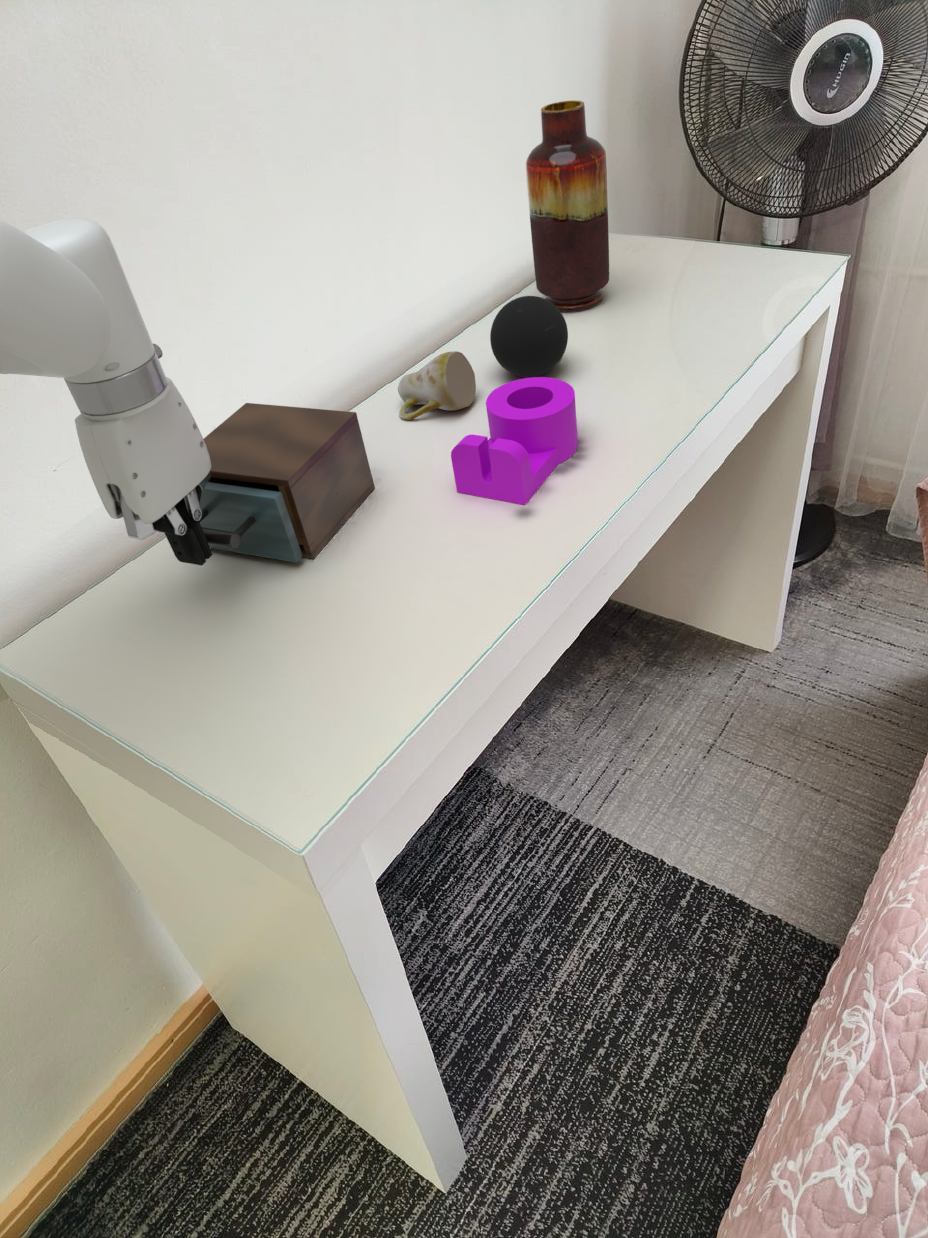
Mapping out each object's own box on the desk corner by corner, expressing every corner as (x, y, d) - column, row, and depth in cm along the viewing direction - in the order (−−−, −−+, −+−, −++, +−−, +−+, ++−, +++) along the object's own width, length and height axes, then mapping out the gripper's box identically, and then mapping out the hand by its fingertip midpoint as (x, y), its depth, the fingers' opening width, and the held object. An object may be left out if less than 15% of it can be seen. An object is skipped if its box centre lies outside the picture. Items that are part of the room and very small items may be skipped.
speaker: (504, 357, 118) (496, 284, 111) (576, 355, 115) (571, 281, 108) (486, 391, 111) (476, 316, 104) (562, 390, 108) (556, 313, 101)
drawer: (273, 589, 83) (248, 524, 78) (168, 570, 88) (138, 507, 83) (356, 495, 94) (339, 432, 89) (258, 482, 99) (237, 422, 94)
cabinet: (313, 559, 88) (287, 480, 81) (202, 540, 93) (170, 465, 87) (375, 488, 96) (356, 411, 90) (270, 475, 102) (246, 402, 96)
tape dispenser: (516, 421, 103) (510, 373, 99) (591, 431, 99) (588, 381, 95) (451, 490, 94) (442, 440, 90) (531, 506, 89) (525, 454, 85)
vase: (542, 288, 134) (527, 101, 117) (612, 284, 132) (607, 91, 115) (532, 317, 127) (514, 120, 110) (607, 313, 124) (601, 110, 107)
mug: (409, 391, 114) (436, 325, 108) (466, 432, 112) (496, 366, 106) (378, 404, 108) (404, 335, 102) (437, 447, 107) (467, 379, 100)
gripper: (142, 342, 77) (211, 510, 88) (20, 424, 67) (115, 601, 79) (208, 346, 74) (269, 519, 86) (90, 432, 64) (178, 614, 76)
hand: (195, 558), depth 82 cm, fingers closed
